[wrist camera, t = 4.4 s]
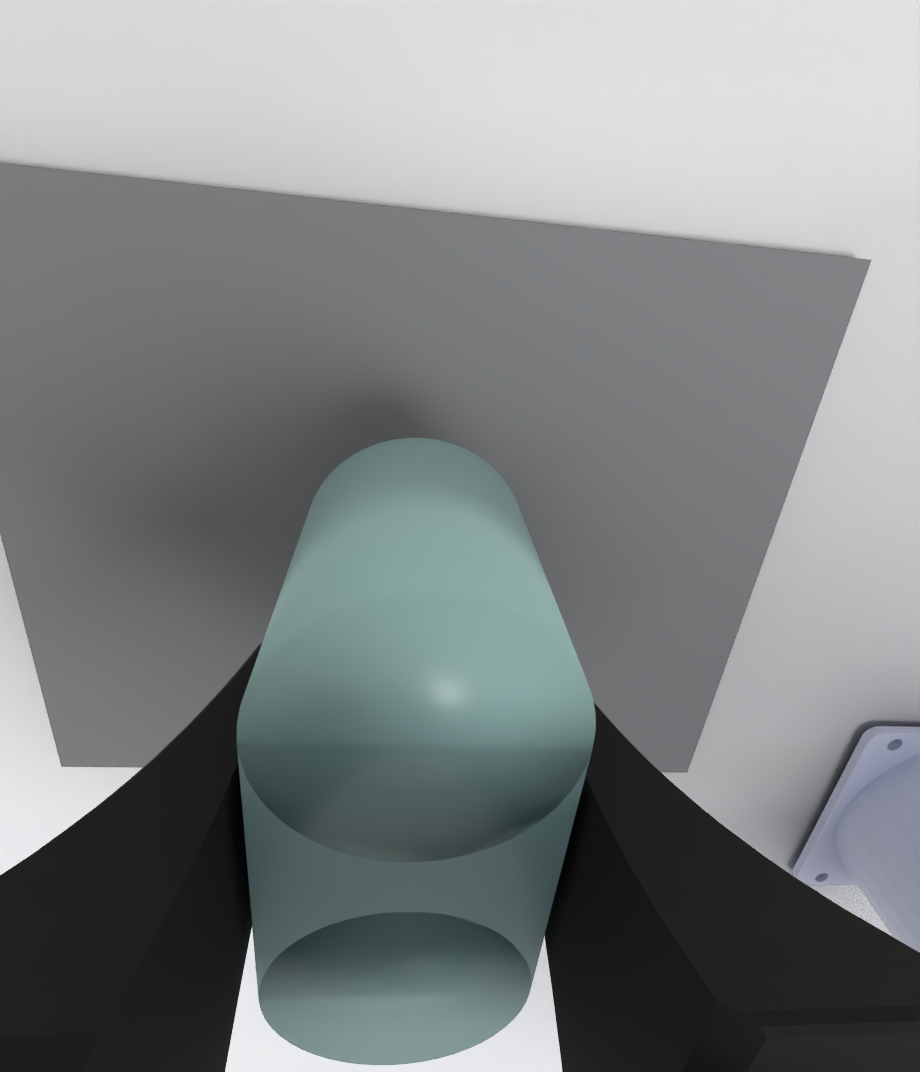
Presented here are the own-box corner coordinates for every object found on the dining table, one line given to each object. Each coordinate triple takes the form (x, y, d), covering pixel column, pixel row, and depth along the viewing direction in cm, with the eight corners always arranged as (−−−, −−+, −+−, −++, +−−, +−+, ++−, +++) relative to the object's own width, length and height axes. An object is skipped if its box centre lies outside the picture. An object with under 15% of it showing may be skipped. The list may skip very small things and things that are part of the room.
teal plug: (303, 429, 10) (223, 584, 6) (538, 446, 11) (630, 601, 6) (310, 873, 15) (271, 1139, 11) (470, 872, 16) (494, 1127, 11)
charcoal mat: (856, 258, 14) (871, 259, 14) (681, 760, 21) (687, 772, 21) (-81, 155, 12) (-100, 151, 12) (69, 754, 19) (61, 766, 19)
